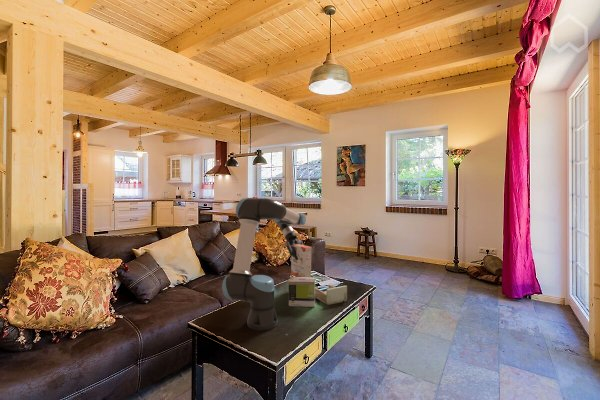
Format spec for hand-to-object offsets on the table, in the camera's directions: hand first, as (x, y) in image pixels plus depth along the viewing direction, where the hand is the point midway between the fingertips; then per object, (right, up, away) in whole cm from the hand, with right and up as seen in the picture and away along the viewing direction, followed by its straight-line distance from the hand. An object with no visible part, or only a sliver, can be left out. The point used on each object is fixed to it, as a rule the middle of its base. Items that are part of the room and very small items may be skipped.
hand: (304, 263), depth 190 cm
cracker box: (-3, -10, +3) cm, 11 cm away
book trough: (+15, -20, -9) cm, 27 cm away
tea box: (-2, -21, -17) cm, 27 cm away
